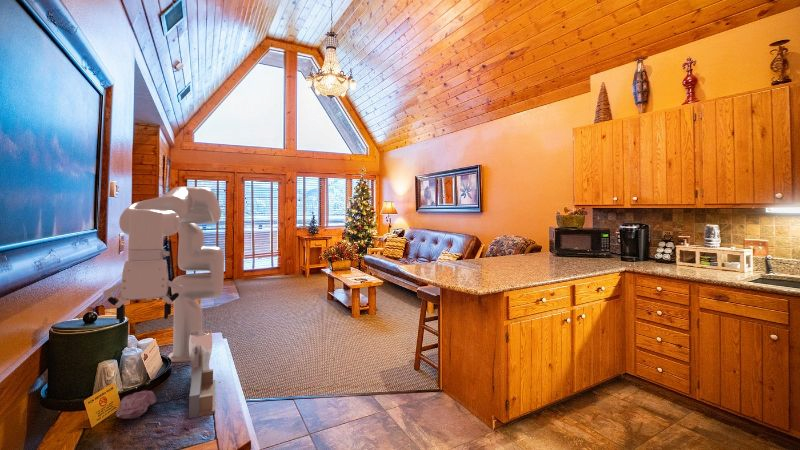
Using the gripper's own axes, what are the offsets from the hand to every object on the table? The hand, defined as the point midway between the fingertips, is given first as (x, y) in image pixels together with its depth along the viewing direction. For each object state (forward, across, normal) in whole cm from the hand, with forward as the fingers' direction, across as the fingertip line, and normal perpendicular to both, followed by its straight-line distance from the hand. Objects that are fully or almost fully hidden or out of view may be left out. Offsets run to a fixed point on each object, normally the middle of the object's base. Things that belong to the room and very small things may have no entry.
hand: (144, 319), depth 94 cm
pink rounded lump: (+27, +2, -5) cm, 28 cm away
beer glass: (+27, -13, -22) cm, 37 cm away
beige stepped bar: (+27, -14, -5) cm, 31 cm away
